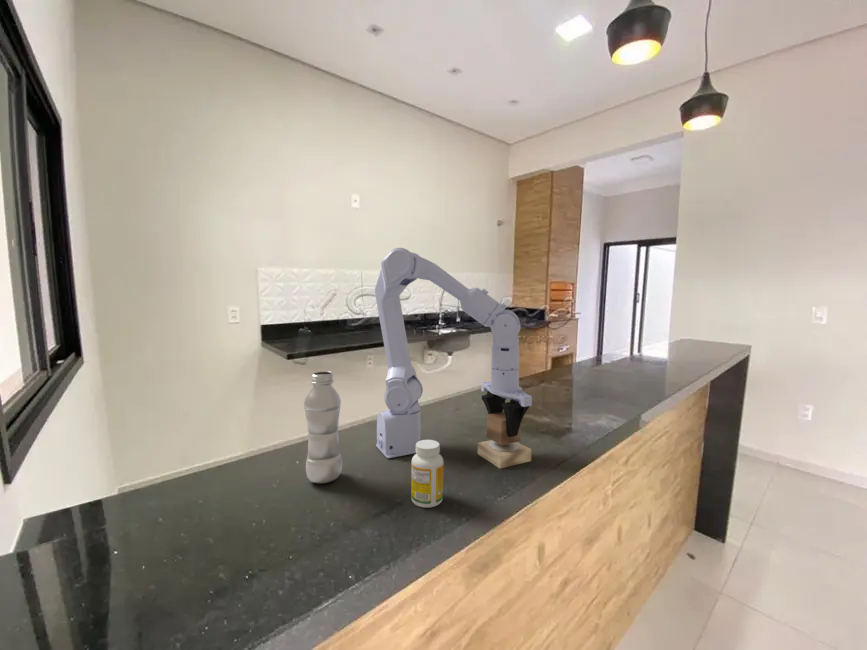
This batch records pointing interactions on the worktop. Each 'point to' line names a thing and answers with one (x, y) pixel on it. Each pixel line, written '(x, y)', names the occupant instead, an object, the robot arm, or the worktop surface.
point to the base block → (504, 453)
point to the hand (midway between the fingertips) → (504, 431)
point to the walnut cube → (500, 429)
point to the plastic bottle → (323, 429)
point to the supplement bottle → (427, 474)
